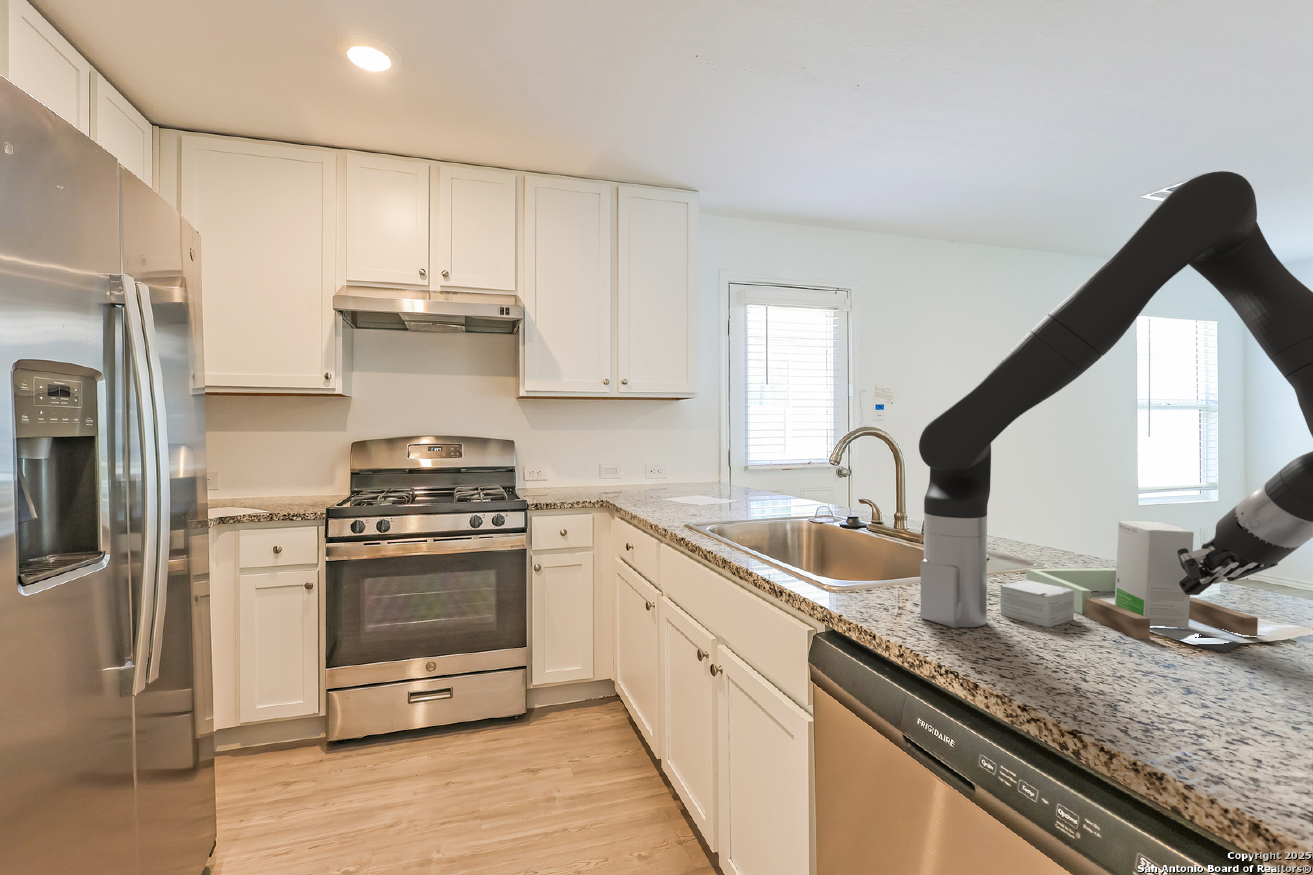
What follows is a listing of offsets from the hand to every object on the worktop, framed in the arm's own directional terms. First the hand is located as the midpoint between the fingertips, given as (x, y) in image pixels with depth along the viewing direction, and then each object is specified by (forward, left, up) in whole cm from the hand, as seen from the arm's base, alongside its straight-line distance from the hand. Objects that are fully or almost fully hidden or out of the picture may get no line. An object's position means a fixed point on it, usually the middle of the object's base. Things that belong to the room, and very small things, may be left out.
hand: (1187, 589), depth 91 cm
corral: (+8, +14, -7) cm, 18 cm away
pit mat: (-2, -3, -7) cm, 8 cm away
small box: (-10, +16, -7) cm, 20 cm away
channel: (+2, +3, -7) cm, 8 cm away
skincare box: (+3, +5, -7) cm, 10 cm away
